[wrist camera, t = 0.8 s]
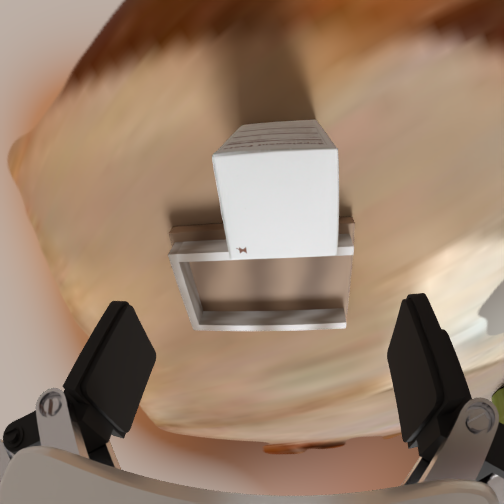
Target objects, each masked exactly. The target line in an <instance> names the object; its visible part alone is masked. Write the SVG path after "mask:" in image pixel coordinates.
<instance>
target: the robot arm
mask: <svg viewBox="0 0 504 504" xmlns="http://www.w3.org/2000/svg"><path fill="white" fill-rule="evenodd" d="M387 359H388V364H389V368H390V373H391V377H392V382H393V387H394V392H395V397H396V403H397V408H398V414H399V420H400V426H401V432H402V438H403V441H404V442H408V448H414V447H418V451H419V456H420V458H419V459H418V461H417V463H416V464H415V465H414V467H413V468H412V470H411V472H410V473H409V475H408V476H407V477H406V479H405V480H404V482H403V483H402V485H401V486H398V487H393V488H387V489H380V490H372V491H365V492H355V493H347V494H334V495H316V496H269V495H251V494H240V493H230V492H221V491H214V490H207V489H200V488H194V487H189V486H184V485H179V484H174V483H169V482H165V481H160V480H156V479H152V478H148V477H144V476H140V475H137V474H134V473H130V472H127V471H124V470H121V468H120V465H119V463H118V460H117V458H116V456H115V453H114V451H113V448H112V445H111V443H110V440H109V439H110V436H111V434H112V435H113V436H117V437H120V438H124V437H125V434H126V433H127V432H129V430H130V428H131V426H132V423H133V420H134V417H135V414H136V411H137V409H138V406H139V403H140V400H141V398H142V395H143V392H144V390H145V387H146V384H147V382H148V379H149V376H150V374H151V371H152V368H153V366H154V363H155V361H156V352H155V350H154V348H153V346H152V344H151V342H150V341H149V339H148V337H147V335H146V333H145V331H144V329H143V327H142V325H141V323H140V321H139V319H138V317H137V315H136V313H135V310H134V308H133V307H132V306H130V305H129V303H128V302H126V301H112V302H111V303H110V304H109V306H108V308H107V309H106V311H105V313H104V314H103V316H102V317H101V319H100V321H99V322H98V324H97V326H96V327H95V329H94V331H93V332H92V334H91V336H90V338H89V339H88V341H87V343H86V345H85V346H84V348H83V350H82V352H81V353H80V355H79V357H78V359H77V361H76V362H75V364H74V366H73V368H72V370H71V372H70V374H69V375H68V377H67V379H66V381H65V383H64V385H63V387H64V389H65V390H64V392H62V390H60V389H58V388H51V389H48V390H46V391H45V392H43V393H42V395H40V397H39V399H38V400H37V403H36V411H34V412H32V413H30V414H28V415H26V416H24V417H22V418H20V419H18V420H16V421H14V422H12V423H11V424H9V425H8V426H7V428H6V429H5V431H4V435H3V441H2V440H0V504H504V424H502V423H500V422H499V413H498V411H497V408H496V407H495V405H494V404H493V403H492V402H491V401H489V400H488V399H485V398H474V399H472V398H471V394H470V391H469V388H468V385H467V382H466V379H465V377H464V374H463V371H462V368H461V366H460V363H459V360H458V358H457V355H456V352H455V350H454V347H453V345H452V342H451V340H450V338H449V335H448V333H447V332H446V331H445V330H443V329H441V327H440V325H439V323H438V320H437V318H436V316H435V314H434V311H433V309H432V307H431V305H430V302H429V300H428V298H427V296H426V295H425V294H424V293H420V294H409V295H408V296H407V298H406V299H403V300H402V303H401V307H400V310H399V314H398V318H397V321H396V325H395V328H394V332H393V335H392V338H391V342H390V345H389V348H388V352H387Z"/></svg>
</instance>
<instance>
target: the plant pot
mask: <svg viewBox="0 0 504 504" xmlns="http://www.w3.org/2000/svg"><path fill="white" fill-rule="evenodd" d="M492 403H493V404H494V405H495V407H496V408H497V411H498V413H499V422H500V423H502V424H504V388H502V389H499V390H498V391H497V392H496V393H495V394H494V395H493V396H492Z"/></svg>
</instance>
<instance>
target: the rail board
mask: <svg viewBox="0 0 504 504" xmlns="http://www.w3.org/2000/svg"><path fill="white" fill-rule="evenodd" d="M354 230H355V222H354V220H353V217H339V230H338V249H337V254H336V255H333V256H316V257H293V258H266V259H238V260H231V259H230V258H229V251H228V246H227V240H226V235H225V229H224V224H223V223H219V224H204V225H190V226H177V227H173V228H172V229H171V231H170V232H169V236H170V240H171V243H172V249H171V250H170V252H169V254H168V256H169V259H170V263H171V266H172V269H173V272H174V275H175V278H176V281H177V284H178V287H179V290H180V293H181V296H182V299H183V302H184V305H185V308H186V310H187V313H188V316H189V319H190V322H191V324H192V327H193V330H209V331H291V330H319V329H339V328H346V318H347V310H348V302H349V293H350V283H351V272H352V260H353V253H354Z"/></svg>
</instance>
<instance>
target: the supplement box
mask: <svg viewBox="0 0 504 504" xmlns="http://www.w3.org/2000/svg"><path fill="white" fill-rule="evenodd" d="M212 161H213V167H214V173H215V178H216V184H217V190H218V196H219V201H220V208H221V215H222V219H223V224H224V229H225V235H226V240H227V246H228V251H229V258H230V259H231V260H238V259H266V258H293V257H316V256H333V255H336V254H337V249H338V230H339V161H338V149H337V148H336V146H335V145H334V143H333V142H332V141H331V139H330V138H329V136H328V135H327V133H326V132H325V131H324V129H323V128H322V127H321V125H320V124H319V123H318V122H317V120H298V121H281V122H267V123H256V124H246V125H242V126H240V127H239V128H238V129H237V130H236V131H235V132H234V133H233V134H232V135H231V137H230V138H229V139H228V140H227V141H226V142H225V143H224V144H223V145H222V146H221V147H220V148H219V149H218V150H217V151H216V152H215V153H214V154H213V155H212Z"/></svg>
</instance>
